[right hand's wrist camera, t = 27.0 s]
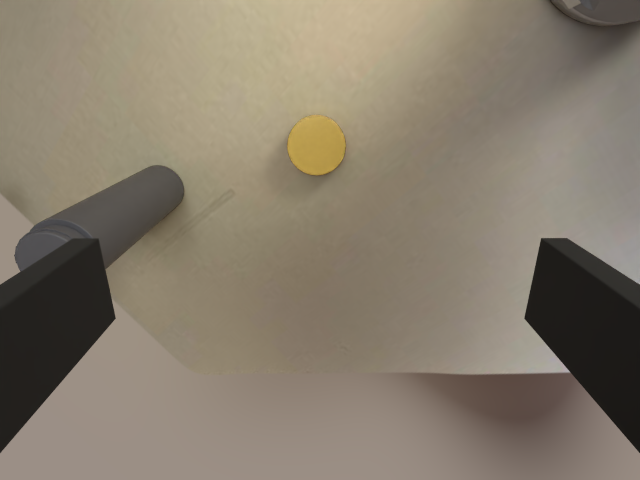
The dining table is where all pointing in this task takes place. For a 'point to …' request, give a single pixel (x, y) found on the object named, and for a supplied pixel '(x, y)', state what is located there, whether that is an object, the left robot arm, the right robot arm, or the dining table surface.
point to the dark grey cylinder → (107, 217)
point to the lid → (316, 145)
